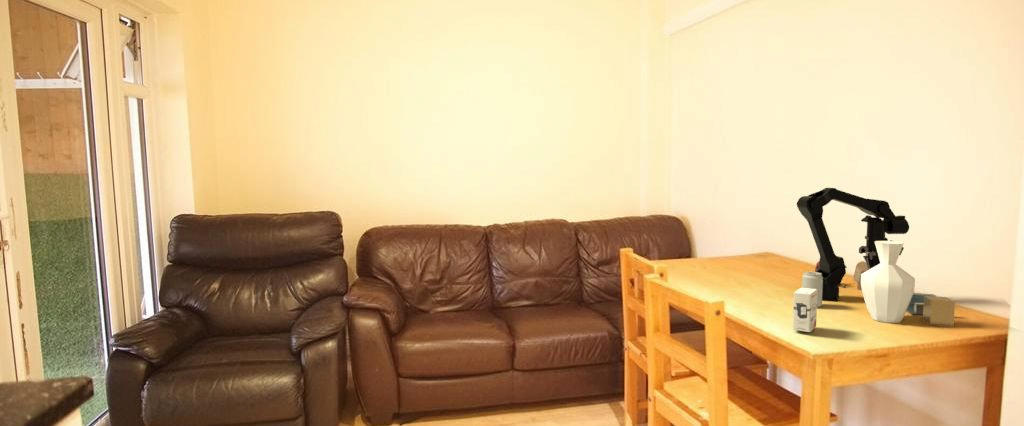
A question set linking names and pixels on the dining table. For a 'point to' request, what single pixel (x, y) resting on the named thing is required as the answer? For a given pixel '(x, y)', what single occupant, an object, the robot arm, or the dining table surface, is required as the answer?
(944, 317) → the block
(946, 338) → the dining table surface
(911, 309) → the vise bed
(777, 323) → the dining table surface
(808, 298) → the ink box
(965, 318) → the dining table surface
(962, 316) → the dining table surface
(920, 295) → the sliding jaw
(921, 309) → the fixed jaw
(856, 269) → the stone
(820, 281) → the beverage can
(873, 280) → the vase
